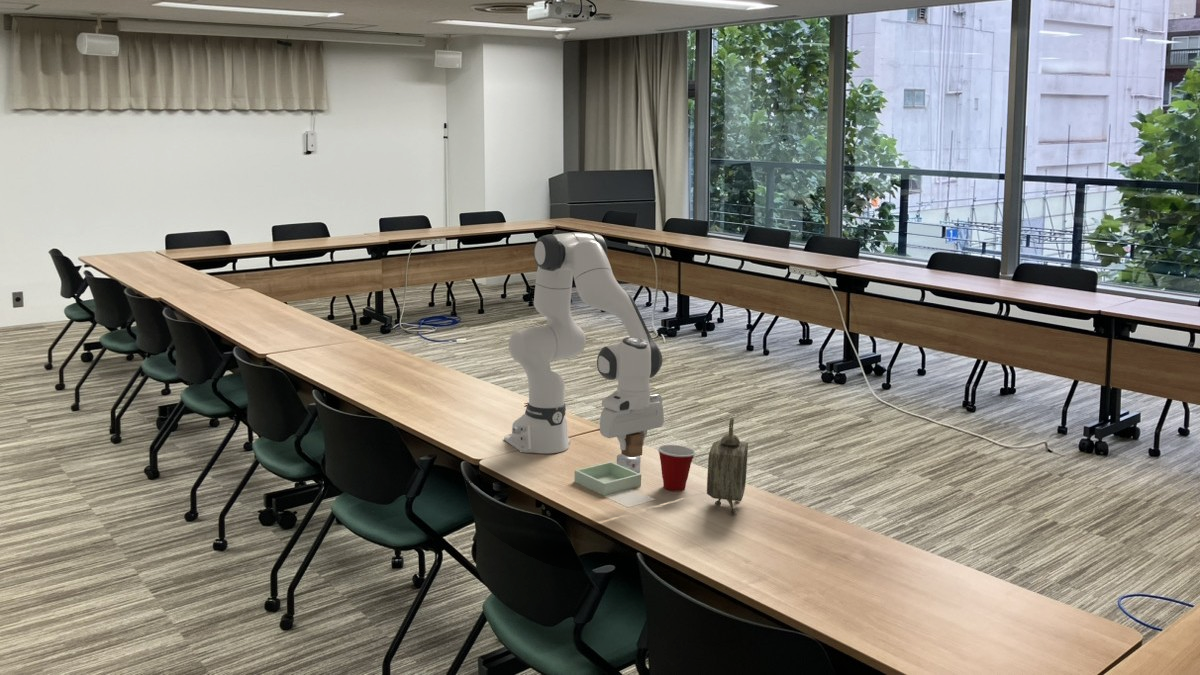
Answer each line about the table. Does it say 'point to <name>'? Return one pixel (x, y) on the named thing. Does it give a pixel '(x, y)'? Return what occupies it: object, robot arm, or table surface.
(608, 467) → the crate
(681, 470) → the plastic cup
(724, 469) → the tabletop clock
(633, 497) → the coaster
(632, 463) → the metal tin
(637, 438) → the walnut block
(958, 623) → the table surface
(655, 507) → the table surface
